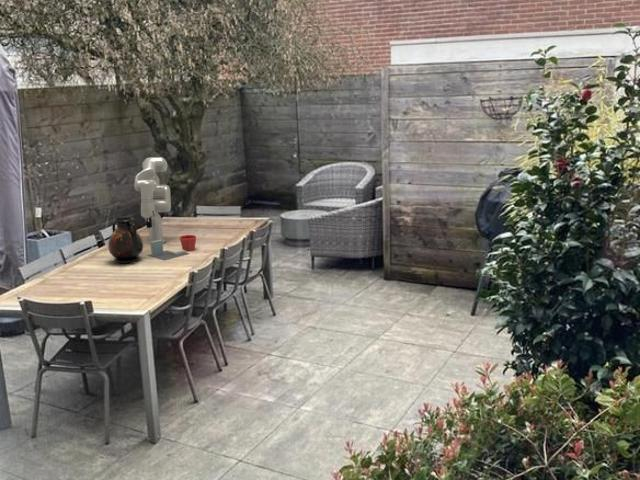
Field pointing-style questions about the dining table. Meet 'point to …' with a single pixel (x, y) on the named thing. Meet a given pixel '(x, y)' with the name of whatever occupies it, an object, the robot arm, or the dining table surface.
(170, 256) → the mat
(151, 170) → the robot arm
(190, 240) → the flower pot
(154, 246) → the tile
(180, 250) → the tile
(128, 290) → the dining table surface
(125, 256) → the amphora vase
